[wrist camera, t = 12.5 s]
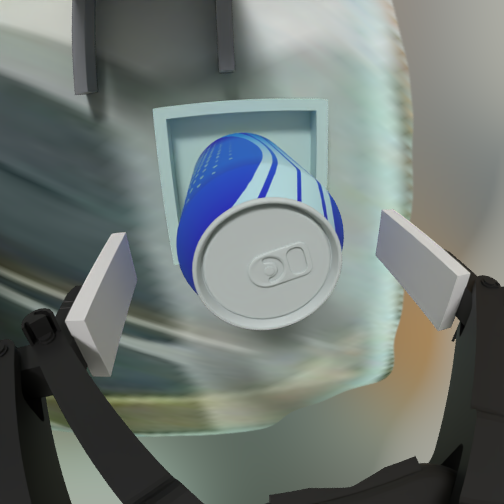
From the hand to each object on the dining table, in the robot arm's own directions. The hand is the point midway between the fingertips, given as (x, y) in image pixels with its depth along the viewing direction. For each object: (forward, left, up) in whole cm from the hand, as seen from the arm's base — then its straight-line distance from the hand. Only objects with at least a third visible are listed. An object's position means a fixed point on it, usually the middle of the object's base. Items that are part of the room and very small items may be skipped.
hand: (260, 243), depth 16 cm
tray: (0, 0, -14) cm, 14 cm away
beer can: (0, 0, -14) cm, 14 cm away
